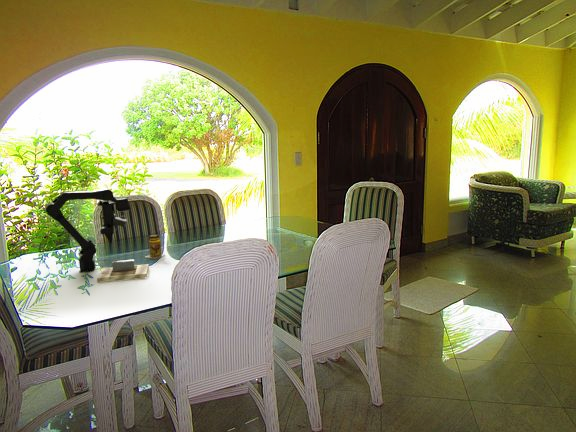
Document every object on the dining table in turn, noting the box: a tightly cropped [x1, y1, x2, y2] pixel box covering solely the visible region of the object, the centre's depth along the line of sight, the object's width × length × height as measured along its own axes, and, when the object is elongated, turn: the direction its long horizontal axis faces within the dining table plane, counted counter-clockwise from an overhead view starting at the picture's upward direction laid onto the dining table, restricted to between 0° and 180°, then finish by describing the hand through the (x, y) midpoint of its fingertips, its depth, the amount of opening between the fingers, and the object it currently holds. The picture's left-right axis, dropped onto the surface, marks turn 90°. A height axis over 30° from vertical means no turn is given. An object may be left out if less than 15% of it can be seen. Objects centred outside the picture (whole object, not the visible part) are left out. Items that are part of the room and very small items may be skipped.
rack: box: [96, 263, 150, 283], centre depth 223 cm, size 22×15×2 cm
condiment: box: [144, 233, 165, 260], centre depth 251 cm, size 7×8×12 cm
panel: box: [111, 259, 136, 272], centre depth 223 cm, size 10×2×7 cm, turn 103°
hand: (111, 243), depth 235 cm, fingers closed
